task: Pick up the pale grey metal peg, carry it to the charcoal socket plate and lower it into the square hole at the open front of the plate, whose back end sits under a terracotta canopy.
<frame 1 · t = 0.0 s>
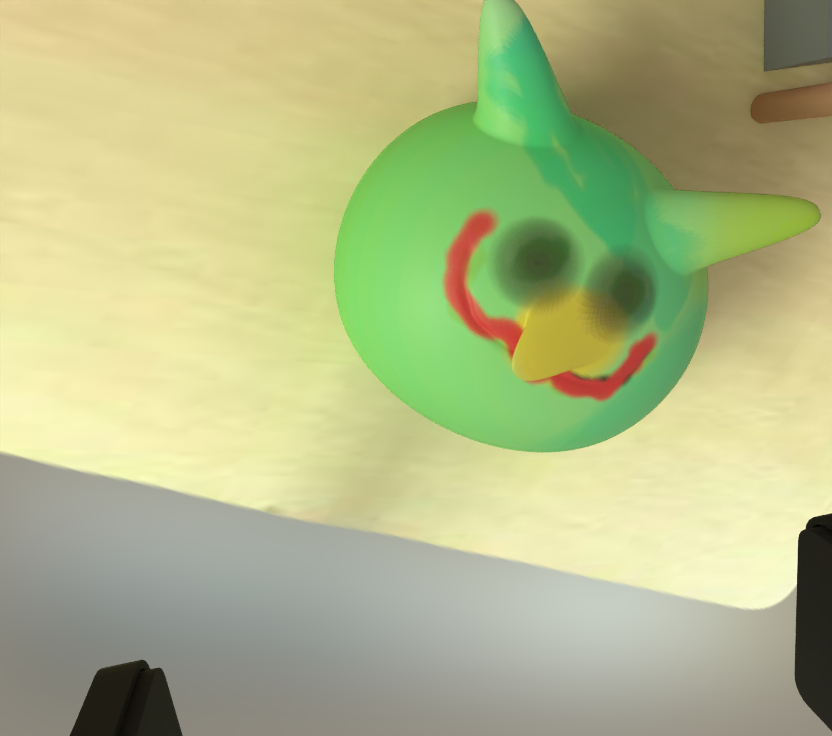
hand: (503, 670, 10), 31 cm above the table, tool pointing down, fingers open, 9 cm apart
toy bird: (488, 256, 40), on the table
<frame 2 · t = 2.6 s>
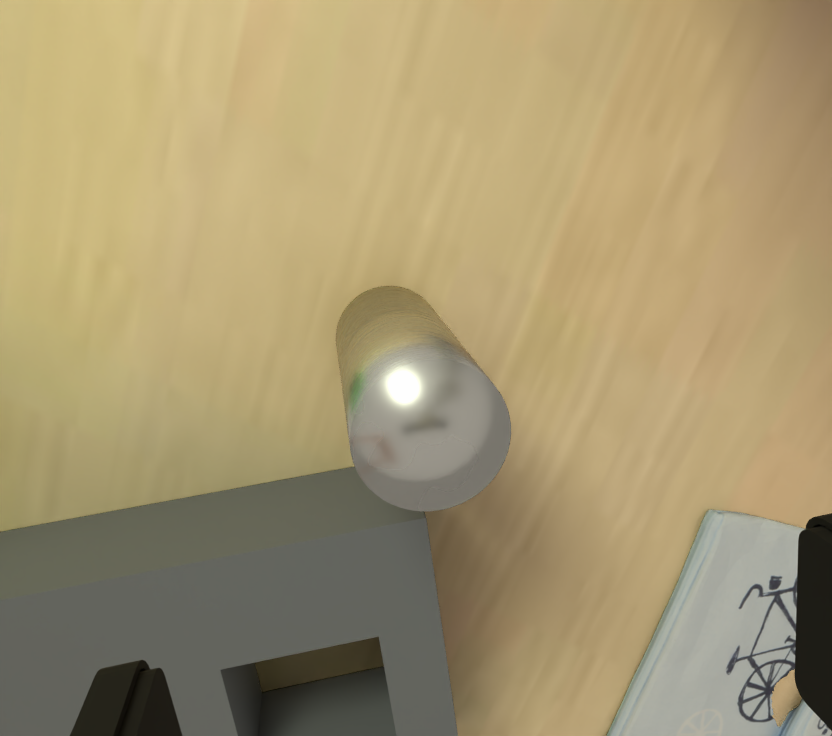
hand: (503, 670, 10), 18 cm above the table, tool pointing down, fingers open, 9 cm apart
socket plate: (170, 656, 29), on the table
metal peg: (388, 338, 27), on the table
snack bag: (791, 684, 36), on the table
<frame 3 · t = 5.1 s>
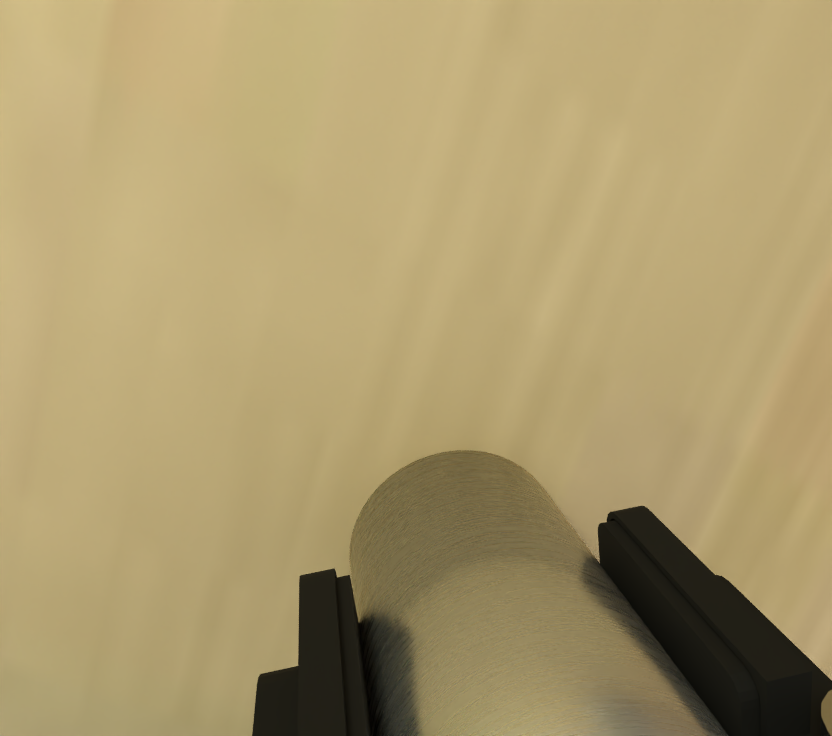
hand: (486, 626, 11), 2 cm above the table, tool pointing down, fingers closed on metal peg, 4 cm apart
metal peg: (456, 549, 13), on the table, touching gripper
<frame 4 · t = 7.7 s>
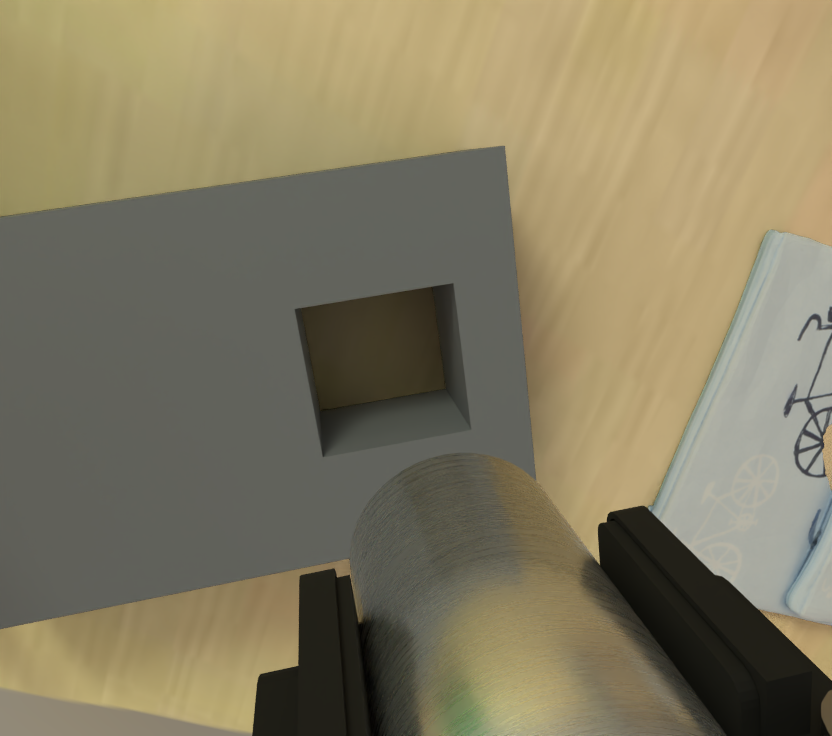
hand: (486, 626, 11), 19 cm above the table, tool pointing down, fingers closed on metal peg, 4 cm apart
socket plate: (230, 363, 29), on the table
metal peg: (456, 551, 13), point 17 cm above the table, touching gripper
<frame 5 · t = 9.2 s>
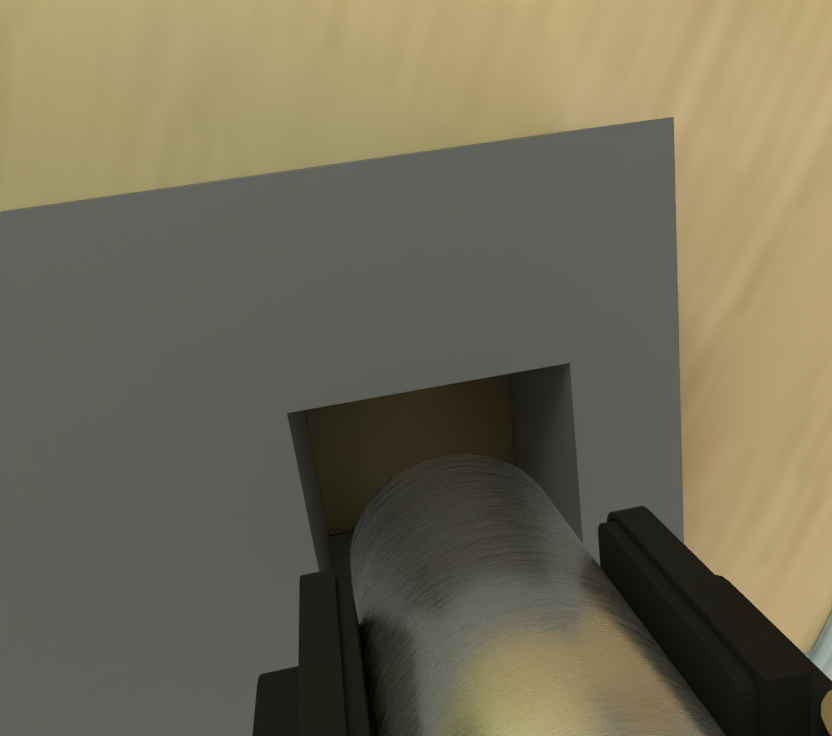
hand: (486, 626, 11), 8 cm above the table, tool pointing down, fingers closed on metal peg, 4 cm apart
socket plate: (187, 468, 18), on the table
metal peg: (456, 552, 13), point 6 cm above the table, touching gripper
when the fingers open (6 cm above the table, at t = 10.4 s): metal peg drops 3 cm, resting in socket plate.
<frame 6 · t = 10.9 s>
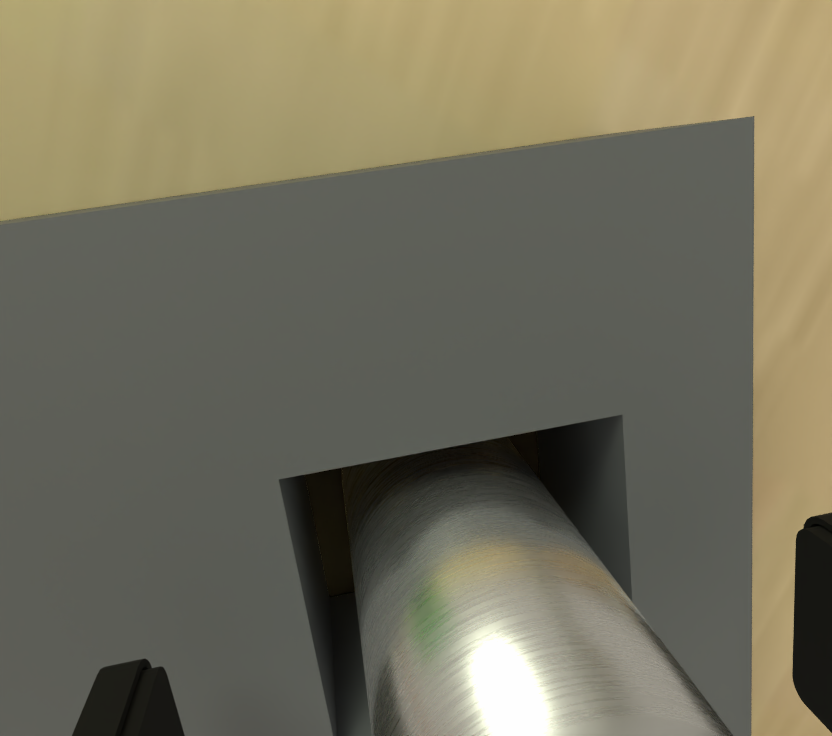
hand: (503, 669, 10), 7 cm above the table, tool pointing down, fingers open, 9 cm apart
socket plate: (166, 523, 16), on the table
metal peg: (426, 471, 16), resting in socket plate
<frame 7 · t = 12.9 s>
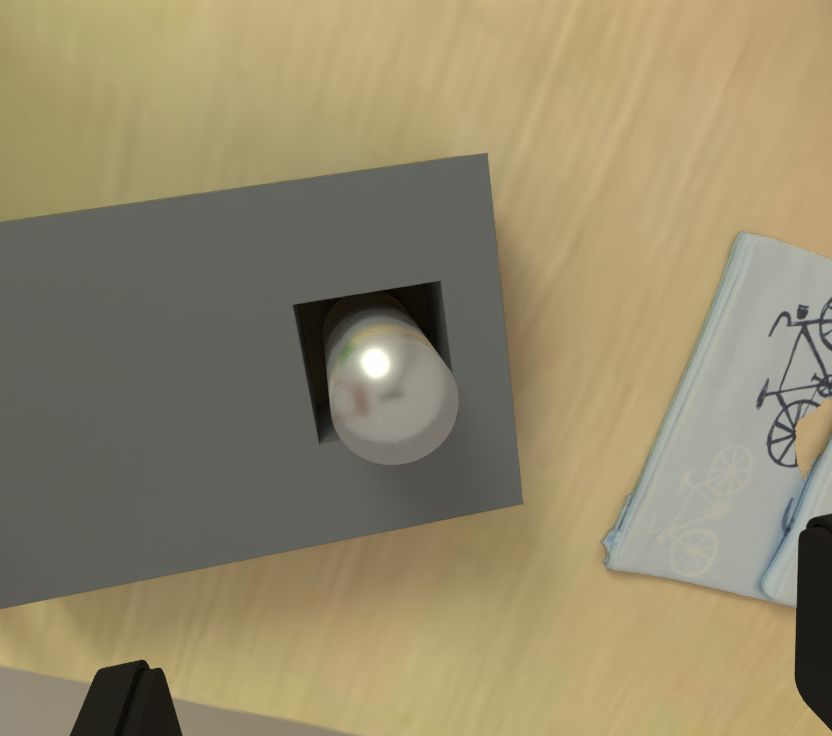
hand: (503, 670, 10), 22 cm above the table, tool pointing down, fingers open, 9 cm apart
socket plate: (231, 357, 30), on the table
metal peg: (368, 333, 31), resting in socket plate
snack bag: (815, 436, 37), on the table
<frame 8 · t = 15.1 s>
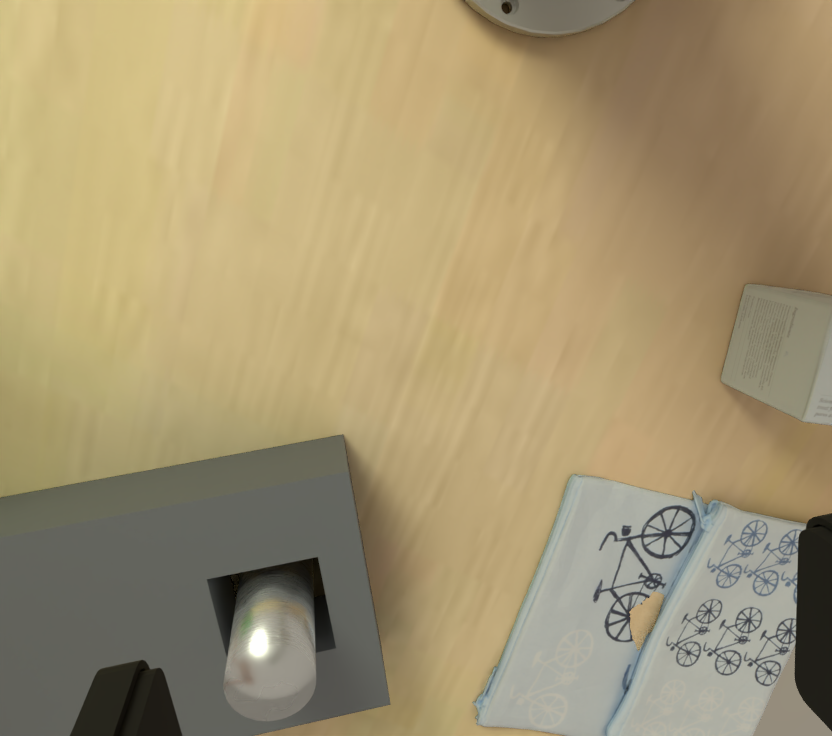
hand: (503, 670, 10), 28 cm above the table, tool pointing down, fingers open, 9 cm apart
socket plate: (171, 583, 40), on the table
skincare box: (773, 337, 41), on the table
metal peg: (277, 561, 40), resting in socket plate
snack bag: (649, 614, 46), on the table
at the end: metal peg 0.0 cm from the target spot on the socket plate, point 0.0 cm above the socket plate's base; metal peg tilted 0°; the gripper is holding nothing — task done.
